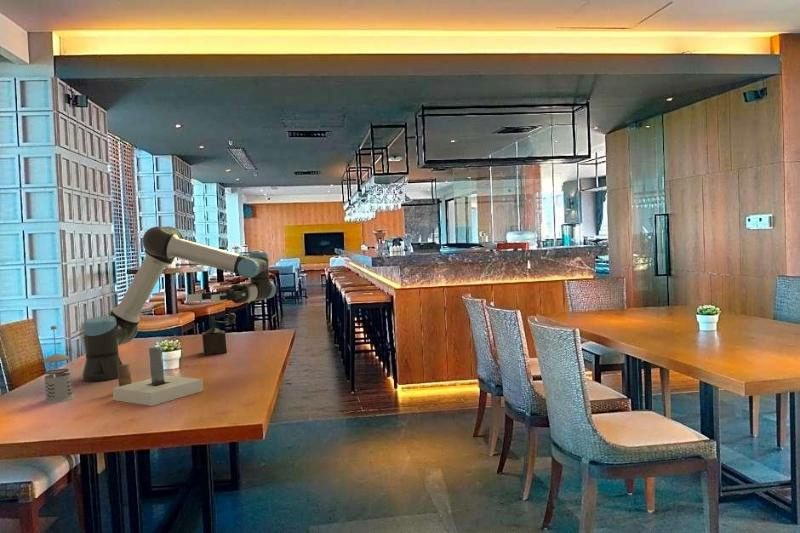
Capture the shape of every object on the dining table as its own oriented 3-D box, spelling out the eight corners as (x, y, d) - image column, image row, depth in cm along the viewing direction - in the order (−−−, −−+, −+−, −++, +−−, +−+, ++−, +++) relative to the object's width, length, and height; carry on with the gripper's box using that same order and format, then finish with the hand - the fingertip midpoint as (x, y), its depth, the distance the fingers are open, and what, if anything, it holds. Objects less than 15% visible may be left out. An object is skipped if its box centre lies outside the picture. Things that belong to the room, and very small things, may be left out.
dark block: (203, 355, 288) (200, 316, 288) (202, 352, 299) (199, 313, 298) (238, 352, 293) (236, 312, 293) (236, 348, 304) (234, 310, 303)
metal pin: (150, 396, 213) (146, 348, 212) (160, 393, 216) (156, 346, 216) (157, 397, 211) (154, 349, 210) (168, 394, 214) (164, 347, 214)
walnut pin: (117, 392, 223) (114, 366, 222) (126, 389, 226) (124, 364, 226) (125, 392, 221) (122, 366, 220) (134, 389, 224) (132, 364, 224)
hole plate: (113, 400, 211) (112, 388, 211) (165, 386, 227) (164, 375, 227) (151, 405, 200) (150, 393, 200) (203, 390, 217) (202, 379, 216)
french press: (46, 404, 210) (40, 328, 209) (38, 399, 219) (32, 326, 218) (79, 398, 216) (73, 324, 215) (69, 393, 225) (64, 322, 224)
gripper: (266, 302, 246) (223, 309, 228) (221, 302, 259) (177, 308, 242) (265, 283, 245) (221, 288, 228) (220, 283, 259) (176, 288, 241)
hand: (199, 298), depth 235 cm, fingers open, 13 cm apart
